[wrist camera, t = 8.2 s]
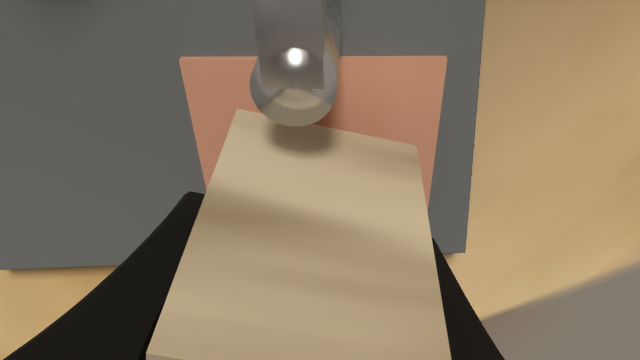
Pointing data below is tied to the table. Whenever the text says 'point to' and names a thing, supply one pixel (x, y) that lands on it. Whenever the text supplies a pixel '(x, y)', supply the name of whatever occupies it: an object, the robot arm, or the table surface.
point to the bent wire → (296, 59)
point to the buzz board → (203, 111)
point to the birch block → (307, 253)
